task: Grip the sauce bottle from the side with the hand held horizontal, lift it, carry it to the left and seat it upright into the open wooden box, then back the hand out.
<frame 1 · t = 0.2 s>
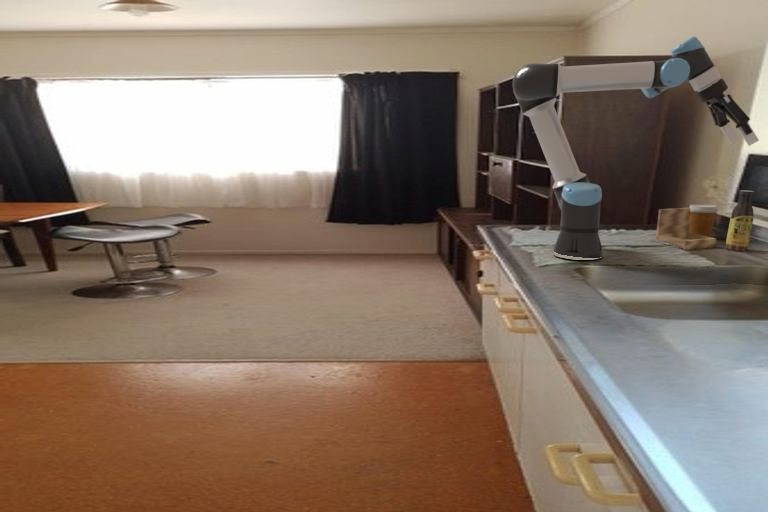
hand: (744, 142, 153), 35 cm above the worktop, tool tilted 35°, fingers open, 13 cm apart
glass of beer: (699, 237, 188), on the worktop
sauce bottle: (736, 250, 165), on the worktop
open wooden box: (685, 244, 175), on the worktop
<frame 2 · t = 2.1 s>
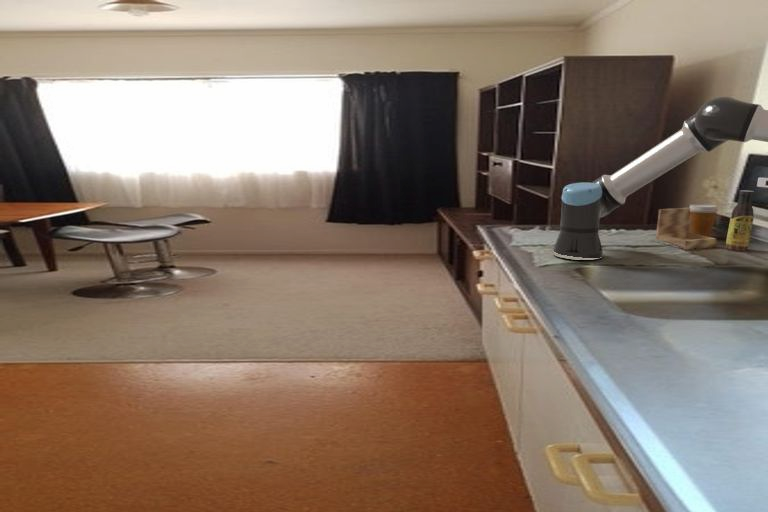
nothing on the worktop moved.
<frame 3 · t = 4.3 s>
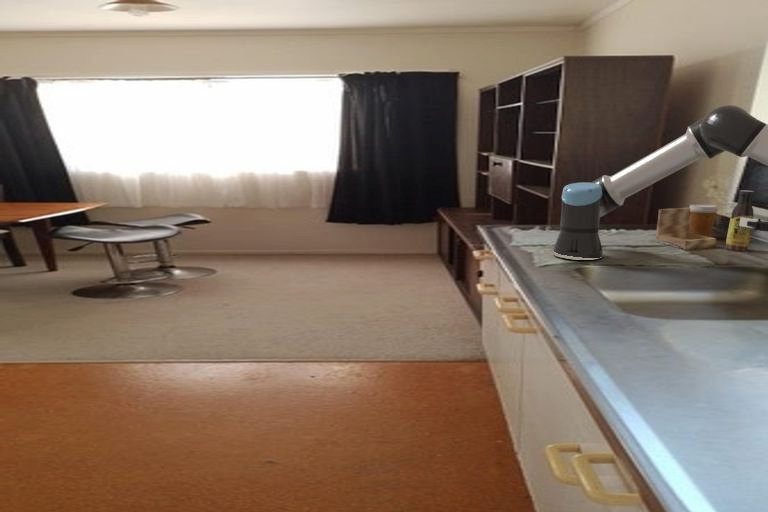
hand: (757, 220, 158), 11 cm above the worktop, tool horizontal, fingers open, 13 cm apart
nothing on the worktop moved.
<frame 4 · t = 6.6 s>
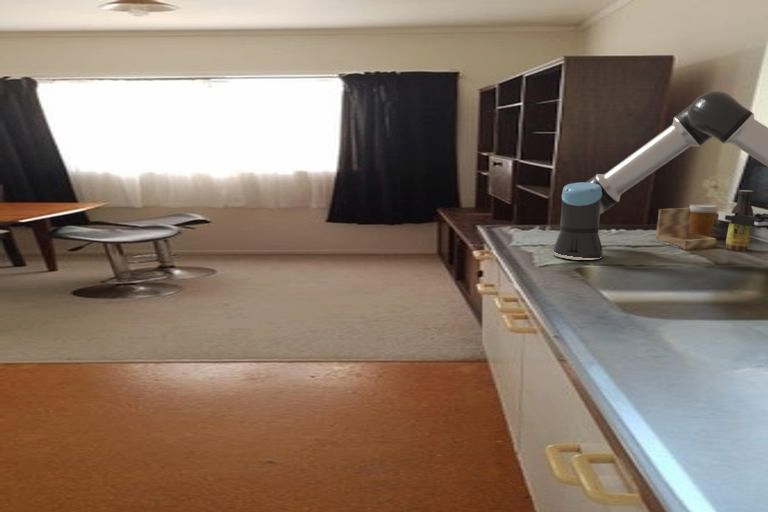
hand: (727, 215, 168), 11 cm above the worktop, tool horizontal, fingers closed on sauce bottle, 6 cm apart
sauce bottle: (736, 250, 165), on the worktop, touching gripper
everything else where it was.
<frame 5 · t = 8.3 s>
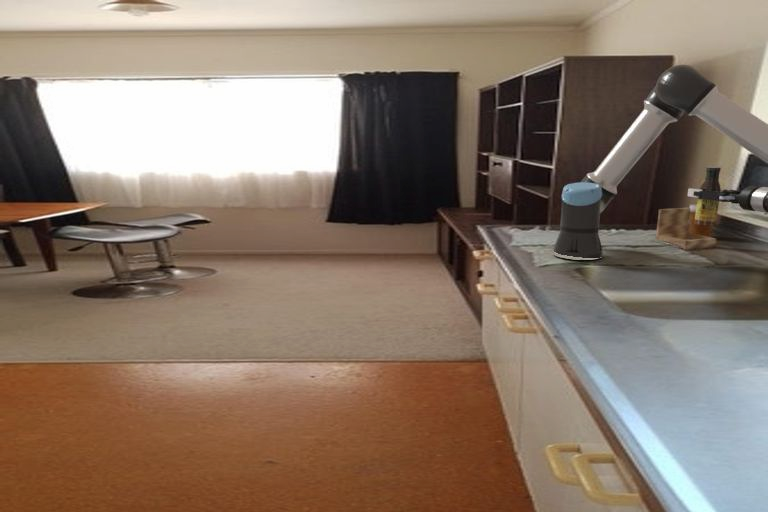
hand: (697, 191, 172), 18 cm above the worktop, tool horizontal, fingers closed on sauce bottle, 6 cm apart
sauce bottle: (705, 225, 170), point 7 cm above the worktop, touching gripper
everything else where it was.
when the fingers open (13 cm above the worktop, at t = 10.2 s): sauce bottle drops 2 cm, resting on open wooden box.
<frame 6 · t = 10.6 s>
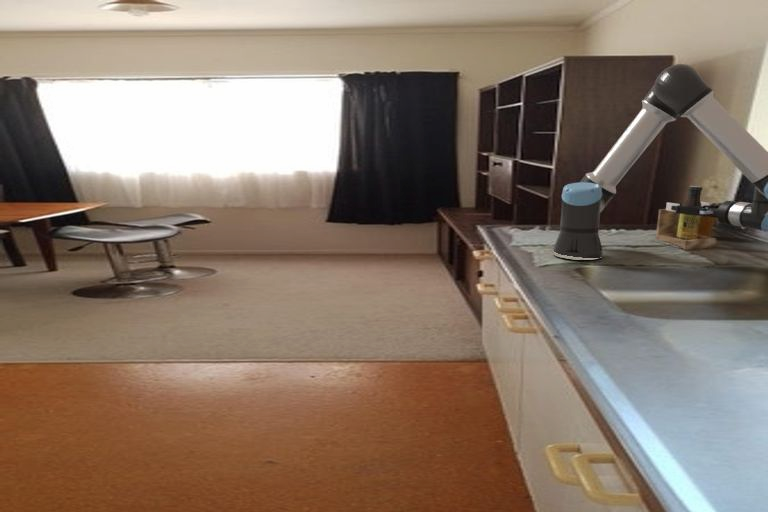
hand: (680, 205, 176), 13 cm above the worktop, tool horizontal, fingers open, 11 cm apart
sauce bottle: (685, 242, 175), point 1 cm above the worktop, touching open wooden box
everything else where it was.
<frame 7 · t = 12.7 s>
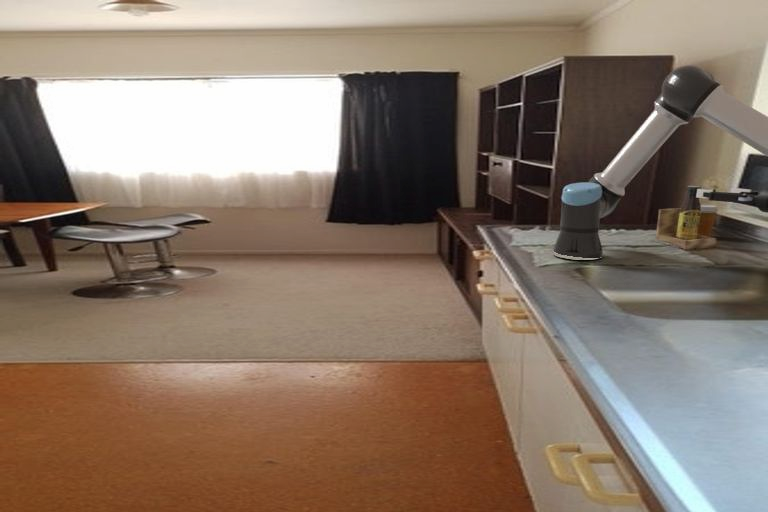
hand: (714, 192, 160), 20 cm above the worktop, tool horizontal, fingers open, 13 cm apart
nothing on the worktop moved.
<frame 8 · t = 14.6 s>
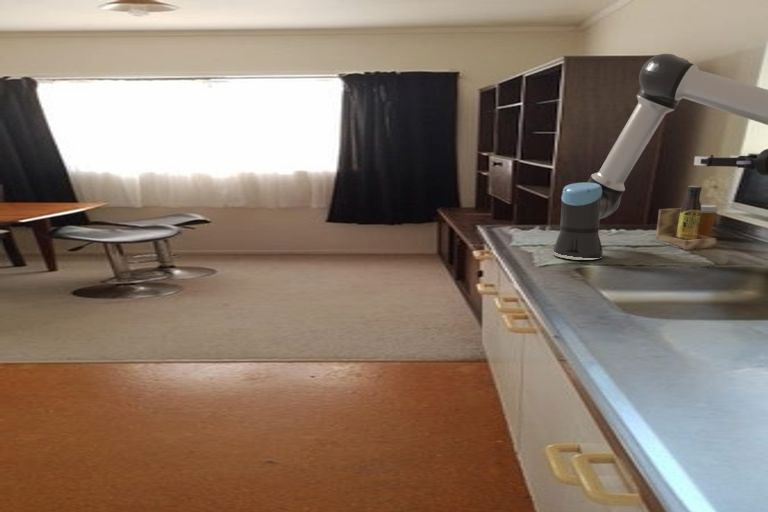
hand: (713, 160, 157), 30 cm above the worktop, tool horizontal, fingers open, 13 cm apart
nothing on the worktop moved.
at the end: sauce bottle inside the target area on the open wooden box (0.1 cm from its centre), point 0.6 cm above the open wooden box's base; sauce bottle tilted 1°; the gripper is holding nothing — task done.
